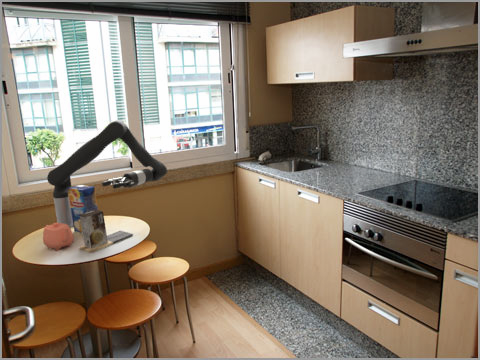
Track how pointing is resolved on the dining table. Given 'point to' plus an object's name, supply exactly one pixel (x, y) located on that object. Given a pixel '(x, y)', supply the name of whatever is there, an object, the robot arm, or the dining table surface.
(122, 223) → the dining table surface
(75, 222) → the juice carton
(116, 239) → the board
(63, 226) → the teapot
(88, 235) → the coffee box
